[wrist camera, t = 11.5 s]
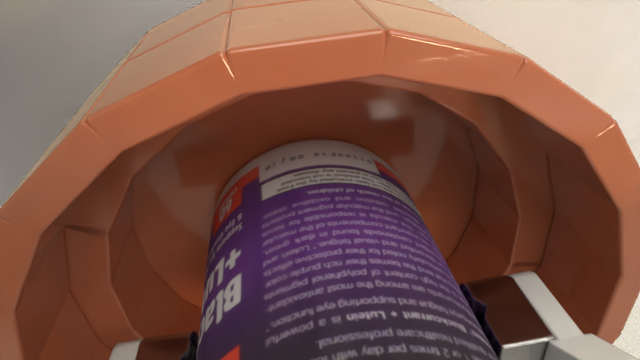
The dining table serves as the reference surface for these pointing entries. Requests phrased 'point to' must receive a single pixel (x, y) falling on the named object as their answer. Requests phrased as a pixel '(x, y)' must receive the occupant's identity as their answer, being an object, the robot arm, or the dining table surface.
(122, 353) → the robot arm
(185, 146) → the bowl
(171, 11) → the dining table surface
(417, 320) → the pill bottle
